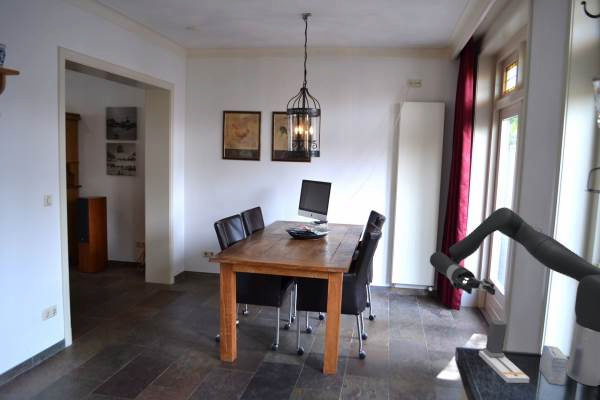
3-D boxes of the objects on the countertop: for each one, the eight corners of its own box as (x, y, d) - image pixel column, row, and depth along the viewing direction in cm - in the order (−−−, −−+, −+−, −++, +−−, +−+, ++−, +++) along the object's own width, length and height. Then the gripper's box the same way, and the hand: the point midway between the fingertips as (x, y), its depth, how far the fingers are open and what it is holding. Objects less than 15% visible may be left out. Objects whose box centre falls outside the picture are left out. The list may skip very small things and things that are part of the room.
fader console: (498, 355, 140) (498, 350, 140) (528, 382, 124) (529, 377, 124) (478, 354, 139) (479, 350, 139) (506, 382, 124) (507, 377, 123)
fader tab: (497, 350, 139) (501, 319, 138) (504, 357, 135) (509, 325, 134) (483, 350, 139) (487, 319, 137) (489, 356, 135) (494, 324, 133)
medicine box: (564, 386, 124) (569, 359, 123) (548, 383, 125) (552, 356, 124) (553, 372, 132) (558, 346, 131) (538, 369, 133) (543, 344, 131)
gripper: (444, 266, 160) (464, 280, 144) (479, 267, 162) (503, 282, 146) (441, 284, 161) (461, 301, 145) (476, 286, 163) (499, 302, 147)
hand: (482, 291), depth 146 cm, fingers open, 8 cm apart
